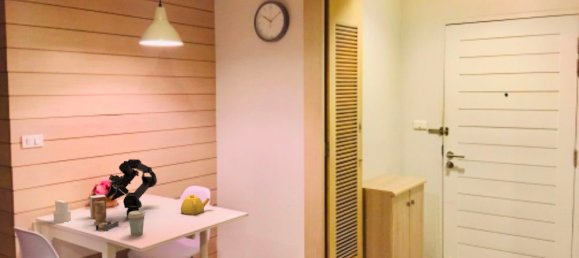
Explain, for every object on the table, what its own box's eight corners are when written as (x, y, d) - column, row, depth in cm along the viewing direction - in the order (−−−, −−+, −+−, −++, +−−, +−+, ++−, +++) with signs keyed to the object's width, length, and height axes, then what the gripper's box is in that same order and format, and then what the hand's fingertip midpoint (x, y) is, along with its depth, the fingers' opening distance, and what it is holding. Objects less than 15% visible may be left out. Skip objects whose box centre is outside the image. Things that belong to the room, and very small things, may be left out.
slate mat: (106, 221, 273) (106, 220, 273) (107, 224, 267) (107, 223, 267) (93, 222, 271) (93, 221, 271) (94, 225, 264) (94, 224, 264)
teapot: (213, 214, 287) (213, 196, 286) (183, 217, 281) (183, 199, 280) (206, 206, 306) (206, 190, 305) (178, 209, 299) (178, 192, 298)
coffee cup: (138, 237, 243) (137, 215, 242) (125, 236, 246) (124, 213, 245) (148, 233, 251) (148, 211, 249) (135, 231, 254) (135, 209, 253)
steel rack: (110, 224, 266) (109, 220, 266) (118, 225, 264) (118, 221, 264) (95, 230, 256) (95, 225, 256) (104, 231, 254) (104, 226, 254)
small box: (92, 219, 277) (91, 197, 276) (90, 217, 282) (89, 195, 281) (106, 217, 281) (106, 196, 280) (104, 215, 287) (103, 194, 286)
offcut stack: (103, 228, 260) (103, 222, 259) (108, 229, 259) (108, 222, 258) (98, 230, 256) (97, 224, 256) (103, 231, 255) (102, 224, 254)
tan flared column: (103, 221, 272) (102, 200, 270) (105, 222, 269) (104, 202, 268) (95, 222, 269) (94, 202, 268) (97, 224, 266) (96, 203, 265)
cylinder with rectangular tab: (74, 220, 275) (73, 200, 274) (59, 224, 268) (58, 203, 267) (65, 218, 280) (64, 198, 279) (50, 221, 273) (49, 201, 272)
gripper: (112, 167, 280) (94, 187, 274) (122, 171, 265) (102, 193, 259) (126, 178, 285) (108, 199, 279) (136, 183, 270) (117, 205, 264)
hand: (108, 198), depth 270 cm, fingers open, 9 cm apart
